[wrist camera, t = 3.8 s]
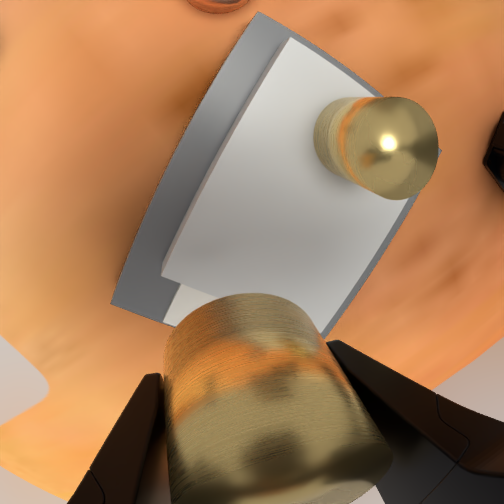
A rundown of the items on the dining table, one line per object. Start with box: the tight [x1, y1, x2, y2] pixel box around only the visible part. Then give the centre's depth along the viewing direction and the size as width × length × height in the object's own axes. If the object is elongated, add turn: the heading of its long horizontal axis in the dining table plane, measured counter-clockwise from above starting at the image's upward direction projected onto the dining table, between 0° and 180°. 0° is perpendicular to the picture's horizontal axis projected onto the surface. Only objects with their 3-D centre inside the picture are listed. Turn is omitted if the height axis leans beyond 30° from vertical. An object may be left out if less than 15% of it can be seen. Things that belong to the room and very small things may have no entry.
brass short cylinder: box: [313, 97, 438, 200], centre depth 14 cm, size 4×4×4 cm
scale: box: [111, 12, 442, 339], centre depth 19 cm, size 15×19×4 cm
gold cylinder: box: [164, 293, 393, 504], centre depth 7 cm, size 4×4×4 cm
